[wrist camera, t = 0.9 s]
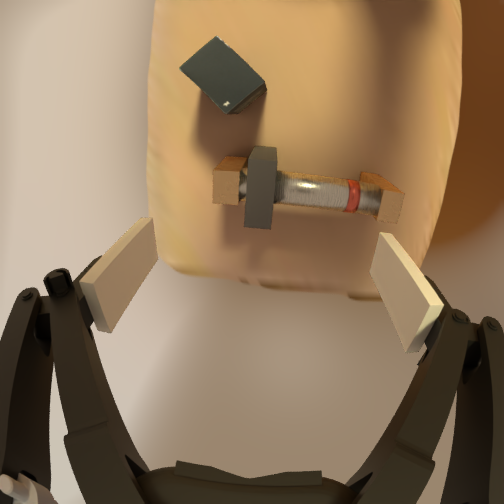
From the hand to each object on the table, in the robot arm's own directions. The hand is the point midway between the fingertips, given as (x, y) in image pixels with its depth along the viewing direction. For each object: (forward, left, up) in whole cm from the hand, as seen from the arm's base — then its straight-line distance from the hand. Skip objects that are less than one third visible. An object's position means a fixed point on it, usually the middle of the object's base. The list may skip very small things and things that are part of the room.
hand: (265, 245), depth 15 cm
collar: (+2, -1, -19) cm, 19 cm away
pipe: (+2, +5, -26) cm, 27 cm away
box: (-11, -6, -26) cm, 29 cm away
